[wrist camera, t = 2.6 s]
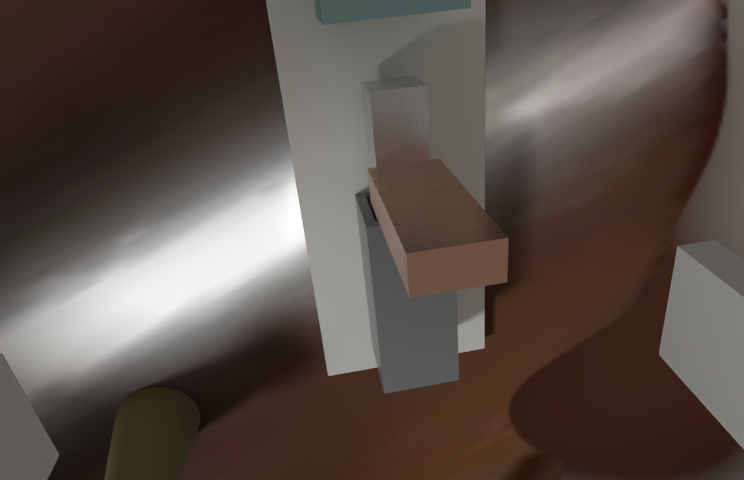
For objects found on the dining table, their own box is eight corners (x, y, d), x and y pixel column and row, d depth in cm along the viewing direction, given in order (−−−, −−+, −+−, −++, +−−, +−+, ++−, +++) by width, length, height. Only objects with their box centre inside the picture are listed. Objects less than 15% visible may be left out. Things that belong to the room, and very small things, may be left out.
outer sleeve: (438, 334, 40) (458, 380, 35) (372, 346, 39) (384, 393, 35) (432, 183, 34) (454, 214, 30) (354, 194, 34) (366, 227, 30)
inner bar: (434, 309, 38) (503, 458, 26) (377, 319, 37) (422, 474, 26) (422, 74, 30) (511, 135, 19) (352, 82, 30) (398, 151, 18)
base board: (480, 340, 42) (484, 348, 41) (327, 367, 41) (328, 375, 40) (479, -140, 28) (486, -144, 27) (246, -120, 27) (245, -123, 26)
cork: (99, 403, 39) (40, 545, 29) (178, 375, 39) (145, 508, 29) (140, 457, 42) (99, 603, 32) (214, 431, 42) (194, 570, 32)
